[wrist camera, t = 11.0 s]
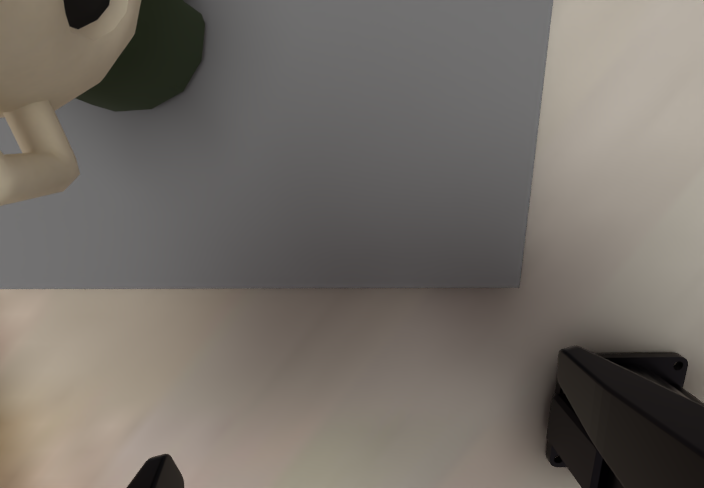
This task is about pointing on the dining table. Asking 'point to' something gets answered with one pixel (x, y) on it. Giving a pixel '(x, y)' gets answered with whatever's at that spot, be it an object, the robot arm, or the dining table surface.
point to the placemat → (306, 156)
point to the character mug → (84, 74)
